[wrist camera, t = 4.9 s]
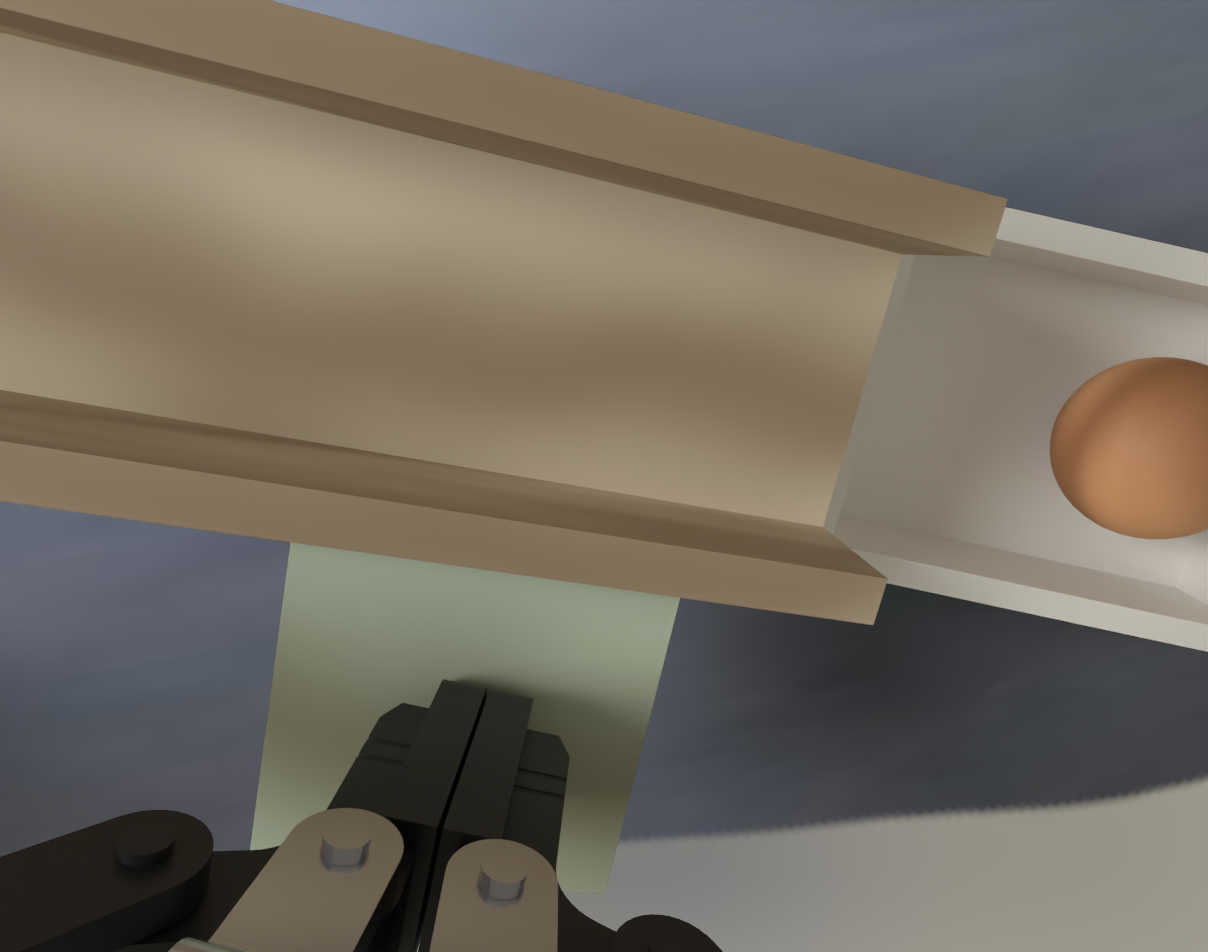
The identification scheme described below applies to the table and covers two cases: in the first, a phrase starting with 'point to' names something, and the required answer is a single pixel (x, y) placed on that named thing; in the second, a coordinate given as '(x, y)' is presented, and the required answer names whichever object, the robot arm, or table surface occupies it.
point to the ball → (1137, 448)
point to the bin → (1019, 427)
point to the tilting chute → (439, 358)
